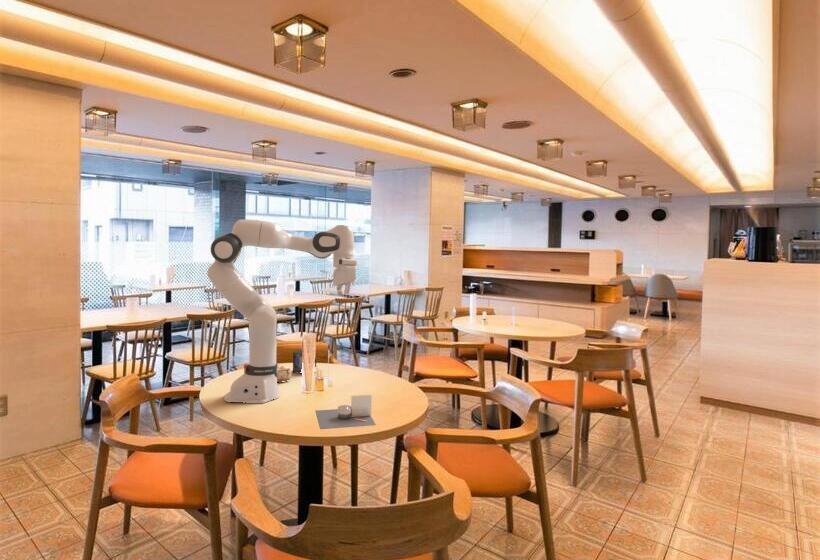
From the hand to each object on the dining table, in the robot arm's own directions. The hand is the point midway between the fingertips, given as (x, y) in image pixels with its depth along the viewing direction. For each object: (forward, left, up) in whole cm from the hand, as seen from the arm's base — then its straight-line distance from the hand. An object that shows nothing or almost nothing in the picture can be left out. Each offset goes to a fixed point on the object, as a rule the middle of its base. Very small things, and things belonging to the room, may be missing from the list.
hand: (343, 295), depth 215 cm
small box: (-13, +44, -45) cm, 64 cm away
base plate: (-3, -29, -44) cm, 53 cm away
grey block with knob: (+1, -29, -43) cm, 52 cm away
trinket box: (-28, +31, -45) cm, 61 cm away
